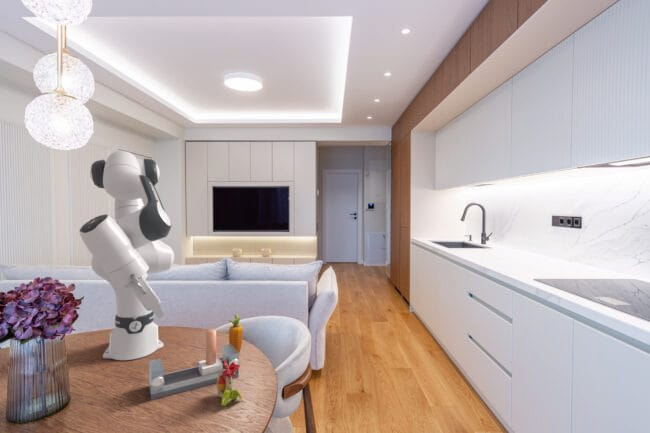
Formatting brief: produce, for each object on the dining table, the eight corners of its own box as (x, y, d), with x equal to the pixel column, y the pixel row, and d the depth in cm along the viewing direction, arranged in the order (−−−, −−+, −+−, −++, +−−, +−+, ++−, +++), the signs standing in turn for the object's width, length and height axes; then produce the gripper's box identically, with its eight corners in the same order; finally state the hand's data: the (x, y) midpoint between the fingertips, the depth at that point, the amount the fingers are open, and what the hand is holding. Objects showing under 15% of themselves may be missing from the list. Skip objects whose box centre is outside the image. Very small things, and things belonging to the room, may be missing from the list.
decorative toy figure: (210, 409, 86) (226, 409, 80) (203, 366, 89) (218, 363, 83) (230, 399, 90) (247, 399, 85) (223, 359, 93) (239, 356, 88)
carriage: (198, 370, 99) (199, 329, 99) (218, 365, 102) (218, 326, 102) (202, 378, 94) (203, 335, 94) (222, 373, 97) (223, 331, 97)
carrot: (238, 362, 108) (239, 318, 108) (225, 360, 109) (226, 317, 109) (245, 355, 113) (245, 314, 113) (232, 354, 114) (233, 313, 114)
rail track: (148, 386, 93) (149, 360, 92) (231, 366, 106) (231, 343, 105) (150, 401, 85) (151, 373, 85) (239, 377, 98) (239, 353, 98)
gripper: (147, 272, 78) (177, 314, 83) (135, 259, 94) (161, 294, 99) (121, 288, 75) (154, 330, 80) (114, 271, 91) (141, 307, 96)
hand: (158, 310), depth 90 cm, fingers open, 8 cm apart
